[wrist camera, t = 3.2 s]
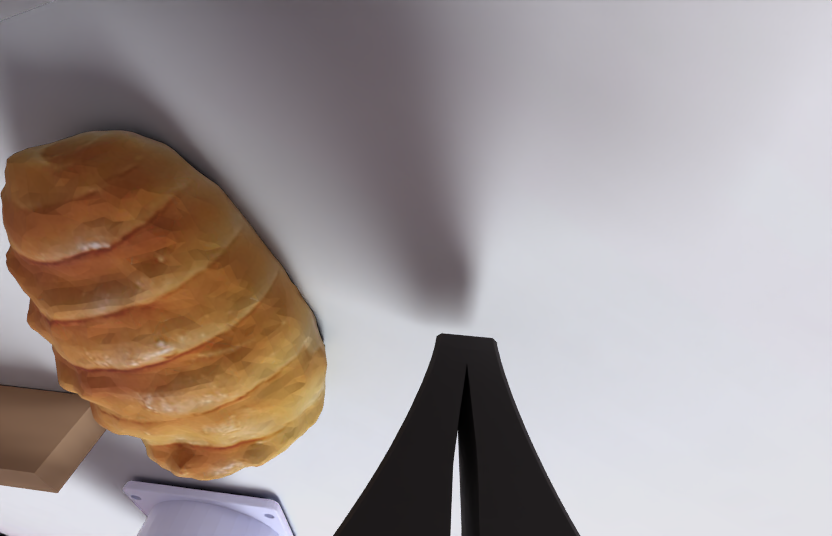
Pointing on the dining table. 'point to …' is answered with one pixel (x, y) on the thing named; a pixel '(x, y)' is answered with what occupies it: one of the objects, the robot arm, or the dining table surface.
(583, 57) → the dining table surface
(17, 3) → the grey flat bar
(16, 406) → the frame
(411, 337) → the dining table surface
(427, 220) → the dining table surface
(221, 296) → the pastry
